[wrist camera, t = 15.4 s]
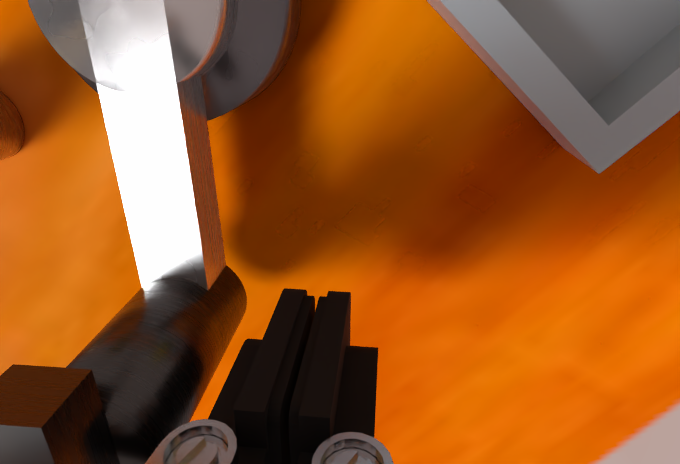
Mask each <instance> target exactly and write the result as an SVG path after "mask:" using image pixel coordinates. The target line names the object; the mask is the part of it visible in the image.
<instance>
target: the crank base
mask: <svg viewBox="0 0 680 464" xmlns="http://www.w3.org/2000/svg"><path fill="white" fill-rule="evenodd" d="M300 14H301V0H238V16H237V22H236V27H235V31H234V34H233V37H232V40H231V42H230V44H229V46H228V48H227V50H226V52H225V53H224V55H223V56H222V58H221V59H220V60H219V62H218V63H217V64H216V65H215V66H214V67H213V68H212V69H211V70H209V71H208V72H207V73H206V74H204V75H203V76H201V79H202V87H203V94H204V102H205V109H206V117H207V121H208V120H211V119H214V118H216V117H219V116H221V115H223V114H225V113H227V112H229V111H231V110H233V109H235V108H237V107H238V106H240V105H242V104H244V103H246V102H248V101H249V100H251V99H253V98H254V97H256V96H258V95H259V94H260V93H261V92H263V91H264V90H265V89H266V88H267V87H268V86H269V85H270V84H271V83H272V82H273V81H274V80H275V79H276V78H277V76H278V75H279V73H280V72H281V71H282V69H283V68H284V66H285V64H286V62H287V60H288V58H289V57H290V55H291V52H292V49H293V47H294V44H295V41H296V37H297V33H298V29H299V23H300ZM75 71H76V70H75ZM76 72H77V73H78V74H79V75H80V76H81V77H82V79H83V80H84V81H85V82H86V83H87V84H88V85H90V86H91V87H92V88H93V89H94V90H95V91H96V92H97V93H98V94H99V92H98V88H97V83H95V82H93V81H91V80H90V79H88V78H86V77H85V76H83V75H82V74H80V73H79V72H78V71H76ZM23 141H24V126H23V122H22V119H21V116H20V114H19V112H18V111H17V109H16V107H15V106H14V105H13V103H12V102H11V101H10V100H9V99H8V98H7V97H6V96H5V95H4V94H3V93H1V92H0V160H3V159H6V158H9V157H11V156H13V155H15V154H16V153H17V152H18V151H19V150H20V148H21V147H22V144H23Z"/></svg>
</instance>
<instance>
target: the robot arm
mask: <svg viewBox="0 0 680 464" xmlns="http://www.w3.org/2000/svg"><path fill="white" fill-rule="evenodd" d="M350 311H351V293H350V292H335V291H328V294H327V297H322V296H320V297H319V300H318V304H317V307H316V311H315V298H314V296H307V291H306V290H301V289H284V290H283V291H282V294H281V296H280V299H279V301H278V303H277V306H276V308H275V311H274V313H273V315H272V318H271V320H270V323H269V325H268V328H267V330H266V332H265V335H264V337H263V340H259V339H247V340H245V342H244V344H243V346H242V348H241V350H240V352H239V354H238V356H237V358H236V360H235V363H234V365H233V367H232V369H231V371H230V373H229V375H228V377H227V380H226V382H225V384H224V386H223V388H222V390H221V392H220V394H219V397H218V399H217V401H216V403H215V405H214V407H213V409H212V411H211V414H210V416H209V418H208V419H202V420H196V421H191V422H189V423H186V424H184V425H181V426H179V427H178V428H176V429H175V430H173V431H172V432H170V433H169V434H168V435H167V436H166V437H165V438H164V439H163V440H162V441H161V443H160V444H159V445H158V447H157V448H156V449H155V451H154V452H153V453H152V455H151V456H150V457H149V459H148V460H147V461H146V463H145V464H393V461H392V458H391V456H390V453H389V452H388V450H387V449H386V448H385V446H384V445H383V444H382V443H381V442H379V441H378V440H376V439H375V438H374V429H375V406H376V383H377V360H378V348H374V347H360V346H350Z"/></svg>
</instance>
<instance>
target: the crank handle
mask: <svg viewBox="0 0 680 464" xmlns="http://www.w3.org/2000/svg"><path fill="white" fill-rule="evenodd" d="M28 2H29V6H30V8H31V10H32V13H33V15H34V17H35V20H36V21H37V23H38V25H39V27H40V29H41V31H42V32H43V34H44V35H45V37H46V38H47V40H48V41H49V43H50V44H51V45H52V47H53V48H54V49H55V50H56V51H57V53H58V54H59V55H60V56H61V57H62V58H63V59H64V60H65V61H66V62H67V63H68V64H69V65H70V66H71V67H73V68H74V69H75V70H76V71H78V72H79V73H80V74H82V75H83V76H85V77H86V78H88V79H90V80H91V81H93V82H95V83H97V88H98V92H99V97H100V101H101V106H102V110H103V115H104V119H105V124H106V128H107V133H108V137H109V142H110V146H111V151H112V155H113V160H114V164H115V169H116V173H117V178H118V182H119V186H120V191H121V195H122V200H123V204H124V209H125V213H126V218H127V222H128V227H129V231H130V236H131V240H132V245H133V249H134V254H135V258H136V263H137V267H138V272H139V276H140V281H141V285H142V288H141V289H140V290H139V291H138V292H137V293H136V294H135V296H134V297H133V298H132V299H131V300H130V301H129V302H128V303H127V304H126V305H125V306H124V307H123V308H122V309H121V310H120V311H119V312H118V313H117V314H116V315H115V317H114V318H113V319H112V320H111V321H110V322H109V323H108V324H107V325H106V326H105V327H104V328H103V329H102V330H101V331H100V332H99V333H98V334H97V335H96V337H95V338H94V339H93V340H92V341H91V342H90V343H89V344H88V345H87V346H86V347H85V348H84V349H83V350H82V351H81V352H80V353H79V354H78V355H77V357H76V358H75V359H74V360H73V361H72V362H71V363H70V364H69V365H68V366H67V367H66V368H60V367H45V366H29V365H14V364H13V365H12V366H11V367H10V368H9V369H7V370H6V371H5V372H4V373H3V374H2V375H1V376H0V464H145V463H146V461H147V460H148V459H149V457H150V456H151V455H152V453H153V452H154V451H155V449H156V448H157V447H158V445H159V444H160V443H161V441H162V440H163V439H164V438H165V437H166V436H167V435H168V434H169V433H170V432H172V431H173V430H175V429H176V428H178V427H179V426H181V425H184V424H186V423H189V422H190V420H191V418H192V416H193V414H194V412H195V410H196V408H197V406H198V404H199V402H200V400H201V398H202V396H203V394H204V392H205V390H206V388H207V386H208V384H209V382H210V380H211V378H212V377H213V375H214V373H215V371H216V369H217V367H218V365H219V363H220V361H221V359H222V357H223V355H224V353H225V351H226V349H227V347H228V345H229V343H230V341H231V339H232V337H233V335H234V333H235V331H236V329H237V328H238V326H239V324H240V322H241V320H242V318H243V316H244V313H245V310H246V305H247V297H246V292H245V289H244V286H243V284H242V282H241V281H240V279H239V278H238V276H237V275H236V274H235V273H234V272H233V271H232V270H231V269H230V268H229V267H228V266H226V262H225V254H224V246H223V239H222V231H221V223H220V216H219V208H218V201H217V193H216V185H215V178H214V170H213V163H212V155H211V147H210V140H209V132H208V125H207V117H206V109H205V102H204V94H203V87H202V79H201V76H203V75H204V74H206V73H207V72H208V71H209V70H211V69H212V68H213V67H214V66H215V65H216V64H217V63H218V62H219V60H220V59H221V58H222V56H223V55H224V53H225V52H226V50H227V48H228V46H229V44H230V42H231V40H232V37H233V34H234V31H235V27H236V22H237V16H238V0H28Z"/></svg>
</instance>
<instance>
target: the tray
mask: <svg viewBox="0 0 680 464" xmlns="http://www.w3.org/2000/svg"><path fill="white" fill-rule="evenodd" d="M427 1H428V2H429V4H430V5H431V6H432V7H433V8H434V9H435V10H436V11H437V12H438V13H439V14H440V15H441V17H442V18H443V19H444V20H445V21H446V22H447V23H448V24H449V25H450V26H451V27H452V28H453V30H454V31H455V32H456V33H457V34H458V35H459V36H460V37H461V38H462V39H463V40H464V41H465V42H466V44H467V45H468V46H469V47H470V48H471V49H472V50H473V51H474V52H475V53H476V54H477V55H478V57H479V58H480V59H481V60H482V61H483V62H484V63H485V64H486V65H487V66H488V67H489V68H490V70H491V71H492V72H493V73H494V74H495V75H496V76H497V77H498V78H499V79H500V80H501V81H502V83H503V84H504V85H505V86H506V87H507V88H508V89H509V90H510V91H511V92H512V93H513V94H514V96H515V97H516V98H517V99H518V100H519V101H520V102H521V103H522V104H523V105H524V106H525V107H526V108H527V110H528V111H529V112H530V113H531V114H532V115H533V116H534V117H535V118H536V119H537V120H538V121H539V123H540V124H541V125H542V126H543V127H544V128H545V129H546V130H547V131H548V132H549V133H550V134H551V136H552V137H553V138H554V139H555V140H556V141H557V142H558V143H559V144H560V145H561V146H562V147H563V148H564V149H565V150H566V151H568V152H569V153H571V154H572V155H573V156H575V157H576V158H578V159H579V160H580V161H582V162H583V163H584V164H586V165H587V166H589V167H590V168H591V169H593V170H594V171H596V172H597V173H598V174H600V173H601V172H602V171H604V170H605V169H606V168H608V167H609V166H610V165H611V164H613V163H614V162H615V161H616V160H618V159H619V158H620V157H622V156H623V155H624V154H625V153H627V152H628V151H629V150H630V149H632V148H633V147H634V146H636V145H637V144H638V143H639V142H641V141H642V140H643V139H644V138H646V137H647V136H648V135H650V134H651V133H652V132H653V131H655V130H656V129H657V128H659V127H660V126H661V125H662V124H664V123H665V122H666V121H667V120H669V119H670V118H671V117H673V116H674V115H675V114H676V113H678V112H679V111H680V0H427Z"/></svg>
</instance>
